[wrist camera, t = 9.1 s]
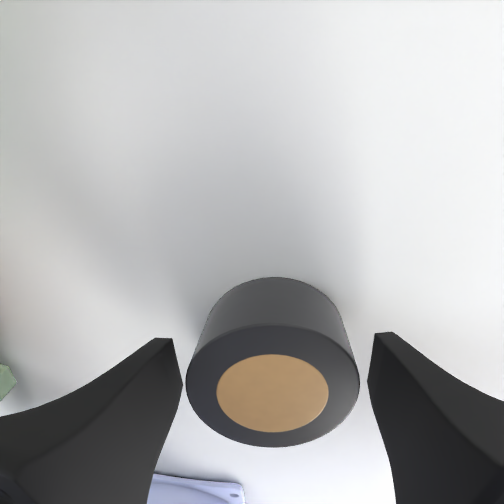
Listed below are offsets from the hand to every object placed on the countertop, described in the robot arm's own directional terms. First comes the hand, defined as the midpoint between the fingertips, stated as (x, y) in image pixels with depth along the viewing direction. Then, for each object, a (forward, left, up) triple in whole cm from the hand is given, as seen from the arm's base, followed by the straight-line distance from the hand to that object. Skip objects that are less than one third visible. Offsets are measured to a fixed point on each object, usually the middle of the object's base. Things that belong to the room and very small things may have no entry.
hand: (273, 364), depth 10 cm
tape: (0, 0, -1) cm, 1 cm away
